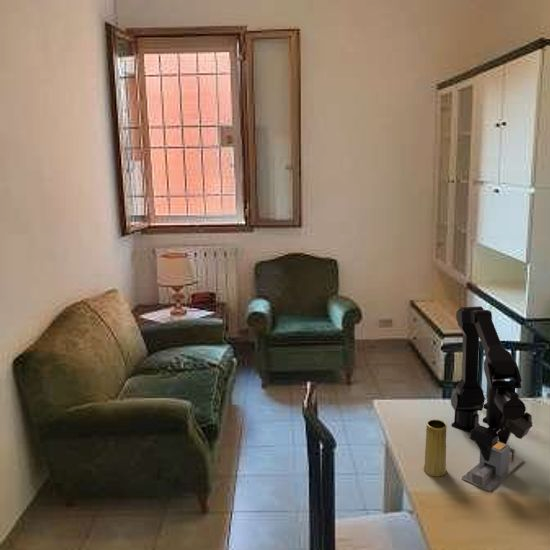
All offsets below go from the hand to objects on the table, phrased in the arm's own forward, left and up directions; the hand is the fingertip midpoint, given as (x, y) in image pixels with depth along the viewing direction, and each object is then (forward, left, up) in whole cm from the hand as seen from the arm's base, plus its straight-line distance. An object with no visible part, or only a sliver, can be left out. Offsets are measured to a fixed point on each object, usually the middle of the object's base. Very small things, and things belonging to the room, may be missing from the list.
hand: (494, 453), depth 155 cm
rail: (0, 0, -5) cm, 5 cm away
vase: (-11, -11, -5) cm, 17 cm away
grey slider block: (0, 0, -4) cm, 4 cm away
